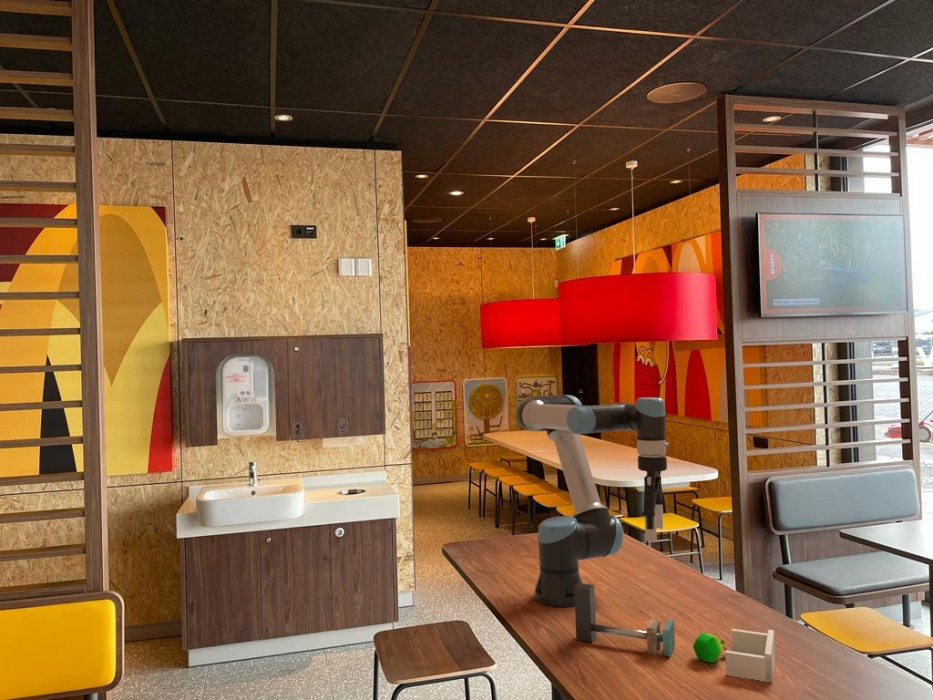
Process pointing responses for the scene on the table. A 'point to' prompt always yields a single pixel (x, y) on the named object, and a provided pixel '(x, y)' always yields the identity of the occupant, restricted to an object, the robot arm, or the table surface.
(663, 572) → the table surface
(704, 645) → the apple
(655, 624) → the bearing block
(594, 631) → the piston
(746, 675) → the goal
